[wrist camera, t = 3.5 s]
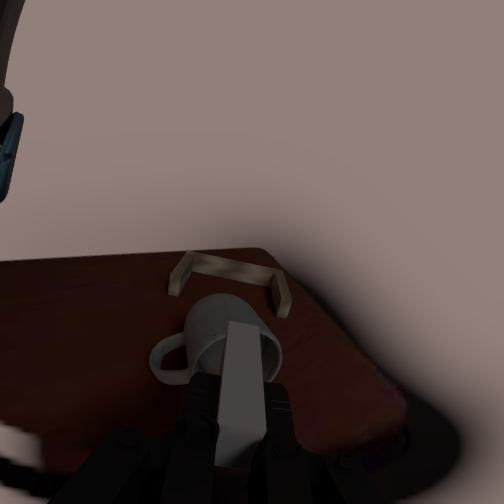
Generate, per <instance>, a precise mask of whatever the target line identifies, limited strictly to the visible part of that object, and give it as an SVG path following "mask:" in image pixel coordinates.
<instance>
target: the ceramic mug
mask: <svg viewBox="0 0 504 504" xmlns="http://www.w3.org/2000/svg"><path fill="white" fill-rule="evenodd" d="M229 321H233V322H239V323H244V324H250V325H256V326H259V333H260V347H261V361H262V374H263V382H272V380H273V379H274V378H275V376H276V375H277V373H278V371H279V369H280V367H281V363H282V350H281V346H280V343H279V341H278V340H277V338H276V337H275V336H274V335H273V333H272V332H271V331H270V330H269V329H268V328H267V326H266V325H265V324H264V323H263V321H262V320H261V319H260V318H259V316H258V315H257V314H256V313H255V311H254V310H253V309H252V307H251V306H250V305H249V304H247V303H246V302H245V301H243V300H242V299H240V298H238V297H237V296H234V295H231V294H227V293H217V294H211V295H209V296H206V297H204V298H202V299H201V300H199V301H198V302H197V303H195V304H194V305H193V306H192V308H191V309H190V311H189V313H188V315H187V317H186V321H185V326H184V332H182V333H178V334H175V335H172V336H169V337H167V338H166V339H163V340H162V341H160V342H159V343H158V344H157V345H156V346H155V347H154V348H153V350H152V351H151V354H150V356H149V365H150V368H151V370H152V371H153V373H154V375H155V376H156V378H157V379H158V380H159V381H161V382H163V383H165V384H169V385H183V384H189V382H190V378H191V377H192V376H193V375H194V374H195V373H196V372H197V371H199V372H204V373H209V374H214V375H219V370H220V362H221V357H222V352H223V348H224V343H225V338H226V333H227V328H228V323H229ZM184 345H186V350H187V361H188V368H186V369H184V370H173V371H166V370H161V369H160V365H161V361H162V360H163V356H164V355H165V354H167V353H168V352H170V351H172V350H174V349H176V348H178V347H181V346H184Z"/></svg>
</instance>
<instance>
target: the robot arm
mask: <svg viewBox="0 0 504 504" xmlns="http://www.w3.org/2000/svg"><path fill="white" fill-rule="evenodd" d="M24 3H25V0H0V203H1V202H2V201H3V200H4V199H5V198H6V196H7V193H8V190H9V186H10V181H11V176H12V172H13V167H14V162H15V158H16V153H17V149H18V144H19V140H20V136H21V131H22V127H23V122H24V116H23V114H20V113H18V112H15V113H12V112H13V96H12V94H11V92H10V91H9V90H8V89H6V88H5V87H4V83H5V77H6V71H7V65H8V60H9V55H10V51H11V46H12V42H13V38H14V34H15V31H16V27H17V24H18V21H19V17H20V14H21V11H22V8H23V5H24ZM290 409H291V408H290V403H289V396H288V392H287V390H286V389H285V388H284V386H283V385H282V384H280V383H272V382H263V374H262V361H261V347H260V333H259V326H256V325H250V324H244V323H239V322H233V321H229V323H228V328H227V333H226V338H225V343H224V348H223V352H222V357H221V362H220V370H219V375H214V374H209V373H204V372H199V371H197V372H196V373H195V374H194V375H193V376H192V377H191V378H190V382H189V386H188V389H187V393H186V397H185V401H184V406H183V410H182V414H181V415H180V416H178V418H177V419H176V421H175V430H174V431H172V432H171V433H169V434H166V435H159V436H146V435H145V433H143V432H142V431H140V430H139V429H137V428H134V427H131V426H121V427H118V428H115V429H114V430H112V431H111V432H110V433H109V434H108V435H107V436H106V438H105V439H104V440H103V441H102V442H101V443H100V444H99V446H98V447H97V448H96V449H95V450H94V451H93V453H92V454H91V455H90V456H89V457H88V458H87V459H86V460H85V462H84V463H83V464H82V465H81V466H80V468H79V469H78V470H77V471H76V472H75V473H74V474H73V475H72V476H71V477H70V479H69V480H68V481H67V482H66V483H65V484H64V485H63V487H62V488H61V489H60V490H59V491H58V492H57V493H56V494H55V495H54V497H53V498H52V499H51V500H50V501H49V502H48V503H47V504H139V503H140V502H141V500H142V498H143V497H144V495H145V494H146V492H147V491H148V489H149V487H150V486H151V485H163V489H162V494H161V498H160V503H159V504H211V501H212V489H213V477H214V466H222V467H230V468H239V469H249V467H250V465H251V475H250V477H249V479H248V481H247V483H246V484H245V488H244V489H248V504H388V503H387V501H386V500H385V498H384V497H383V495H382V494H381V492H380V491H379V489H378V488H377V486H376V485H375V483H374V482H373V480H372V479H371V477H370V476H369V474H368V472H367V471H366V469H365V468H364V466H363V465H362V463H361V462H360V460H359V459H358V458H357V457H356V456H355V455H353V454H351V453H349V452H344V451H340V452H335V453H333V454H331V455H330V456H329V457H326V456H322V455H317V454H314V453H311V452H308V451H306V450H305V449H303V447H302V445H301V444H300V443H298V442H297V440H296V437H295V431H294V426H293V420H292V414H291V411H290Z"/></svg>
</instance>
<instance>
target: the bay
mask: <svg viewBox="0 0 504 504" xmlns="http://www.w3.org/2000/svg"><path fill="white" fill-rule="evenodd" d="M192 271H194V272H199V273H203V274H208V275H213V276H217V277H222V278H227V279H232V280H237V281H241V282H246V283H251V284H256V285H261V286H266V287H271V291H272V296H273V301H274V307H275V312H276V317H281V318H287V315H288V312H289V309H290V306H291V303H292V298H291V294H290V291H289V288H288V285H287V282H286V279H285V276H284V273H283V270H278V269H273V268H268V267H264V266H259V265H254V264H249V263H244V262H240V261H235V260H230V259H225V258H221V257H216V256H211V255H206V254H202V253H197V252H192V251H187V252H186V254H185V255H184V257H183V258H182V259H181V261H180V262H179V263H178V265H177V266H176V267H175V269H174V270H173V272H172V273H171V274H170V280H169V289H168V295H173V296H177V297H178V296H179V294H180V292H181V290H182V289H183V287H184V285H185V283H186V281H187V279H188V277H189V276H190V274H191V272H192Z"/></svg>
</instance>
